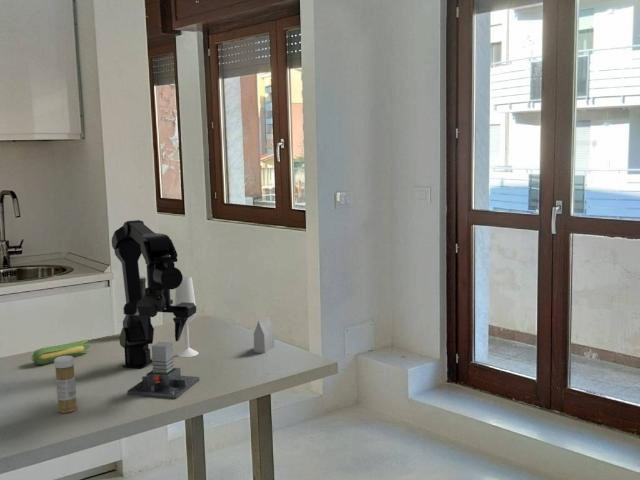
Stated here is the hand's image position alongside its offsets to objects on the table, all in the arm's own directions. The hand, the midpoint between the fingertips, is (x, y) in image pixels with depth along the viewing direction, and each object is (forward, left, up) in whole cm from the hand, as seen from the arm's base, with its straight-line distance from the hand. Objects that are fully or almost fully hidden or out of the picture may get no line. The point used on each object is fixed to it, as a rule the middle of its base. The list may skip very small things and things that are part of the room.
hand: (161, 340), depth 190 cm
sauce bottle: (-31, +45, -13) cm, 57 cm away
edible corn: (-42, +16, -13) cm, 47 cm away
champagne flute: (-6, +28, -13) cm, 32 cm away
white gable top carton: (+16, +37, -13) cm, 42 cm away
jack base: (+1, -1, -13) cm, 13 cm away
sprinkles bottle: (-15, -21, -13) cm, 29 cm away
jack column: (+1, -1, -9) cm, 9 cm away
